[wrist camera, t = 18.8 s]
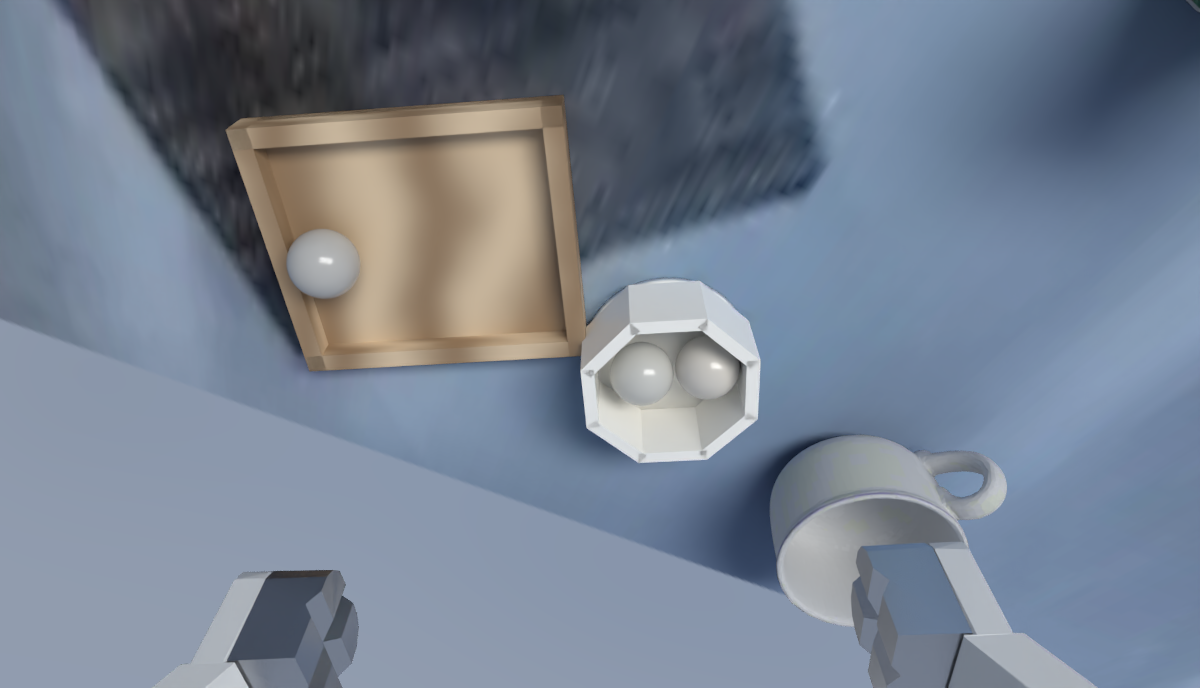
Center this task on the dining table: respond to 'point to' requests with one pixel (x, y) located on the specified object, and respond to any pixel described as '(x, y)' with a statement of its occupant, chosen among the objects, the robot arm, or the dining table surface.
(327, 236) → the pebble
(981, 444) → the dining table surface
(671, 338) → the bowl
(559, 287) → the tray
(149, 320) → the dining table surface
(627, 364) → the light grey sphere
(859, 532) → the teacup
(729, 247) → the dining table surface
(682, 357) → the pebble
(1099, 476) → the dining table surface
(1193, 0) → the canned tomato
